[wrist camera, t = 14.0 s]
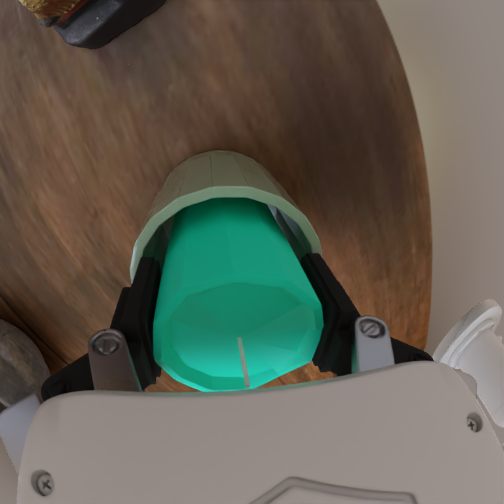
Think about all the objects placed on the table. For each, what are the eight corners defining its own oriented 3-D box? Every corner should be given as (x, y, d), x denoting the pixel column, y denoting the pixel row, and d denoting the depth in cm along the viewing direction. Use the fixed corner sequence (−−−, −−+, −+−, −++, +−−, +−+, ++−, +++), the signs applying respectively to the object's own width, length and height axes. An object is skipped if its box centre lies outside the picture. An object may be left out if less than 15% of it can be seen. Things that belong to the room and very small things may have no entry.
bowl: (38, 296, 20) (-5, 381, 11) (88, 390, 27) (76, 459, 19) (-41, 289, 17) (-80, 349, 9) (11, 375, 25) (-8, 431, 17)
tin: (286, 152, 17) (339, 190, 11) (274, 263, 22) (304, 340, 15) (153, 151, 16) (116, 189, 9) (162, 266, 20) (147, 348, 13)
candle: (182, 264, 19) (174, 431, 9) (168, 180, 16) (114, 326, 6) (268, 255, 20) (326, 409, 10) (267, 170, 17) (363, 295, 6)
